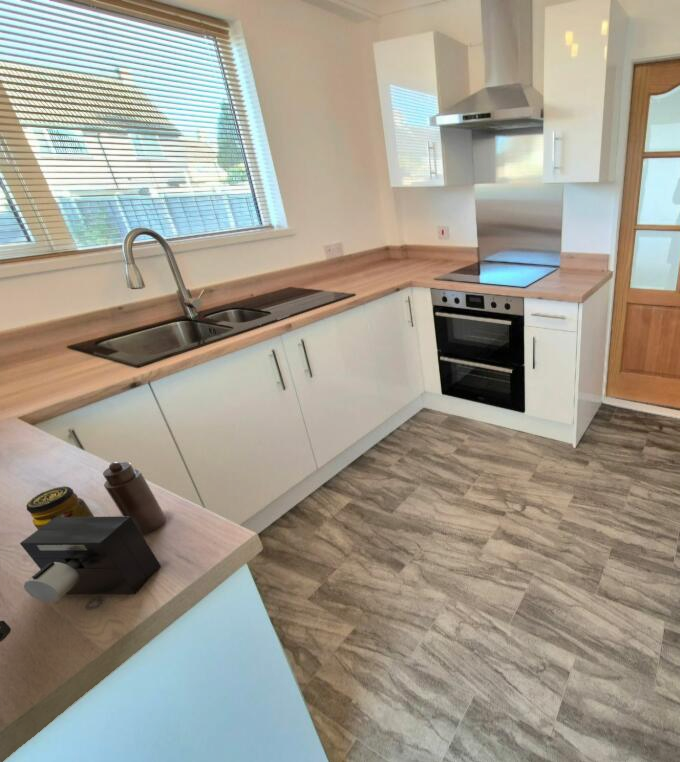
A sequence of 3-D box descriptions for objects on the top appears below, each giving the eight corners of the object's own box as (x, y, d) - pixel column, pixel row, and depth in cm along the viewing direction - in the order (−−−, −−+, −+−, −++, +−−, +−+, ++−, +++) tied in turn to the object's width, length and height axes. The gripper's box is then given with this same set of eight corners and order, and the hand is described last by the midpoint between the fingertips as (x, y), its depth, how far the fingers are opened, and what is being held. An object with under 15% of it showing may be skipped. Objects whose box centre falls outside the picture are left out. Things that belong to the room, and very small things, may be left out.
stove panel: (135, 597, 63) (99, 543, 58) (60, 596, 64) (18, 543, 59) (162, 568, 68) (130, 516, 63) (92, 568, 69) (55, 516, 64)
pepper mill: (127, 539, 74) (86, 474, 67) (144, 519, 78) (106, 456, 72) (158, 534, 74) (119, 469, 68) (172, 515, 79) (138, 452, 72)
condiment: (51, 560, 70) (8, 505, 65) (110, 524, 77) (76, 471, 72) (74, 574, 68) (32, 517, 62) (134, 535, 75) (100, 481, 69)
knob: (65, 602, 57) (46, 579, 55) (35, 602, 58) (15, 579, 56) (99, 571, 62) (82, 548, 60) (71, 571, 62) (53, 548, 60)
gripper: (-188, 800, 35) (34, 604, 50) (-328, 794, 36) (-68, 604, 51) (-121, 837, 38) (68, 643, 54) (-251, 831, 39) (-28, 642, 55)
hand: (1, 624), depth 52 cm, fingers closed
